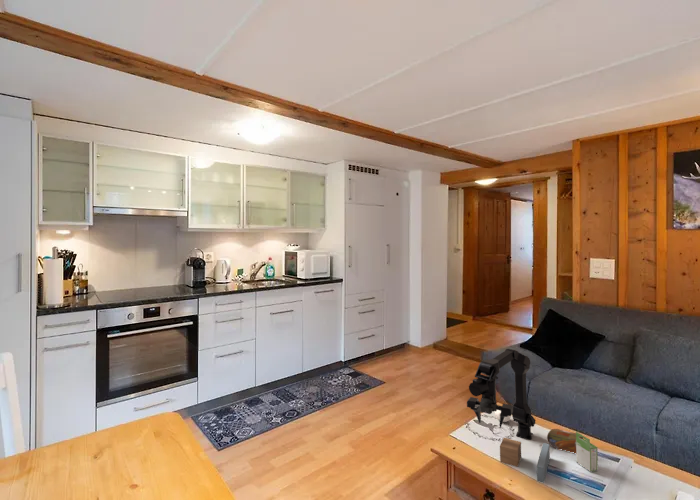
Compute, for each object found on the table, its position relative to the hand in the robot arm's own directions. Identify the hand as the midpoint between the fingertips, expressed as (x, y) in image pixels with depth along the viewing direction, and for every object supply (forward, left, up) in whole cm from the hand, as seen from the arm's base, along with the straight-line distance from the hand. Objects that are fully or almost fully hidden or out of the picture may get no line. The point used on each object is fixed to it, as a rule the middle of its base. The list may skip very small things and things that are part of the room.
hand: (490, 425), depth 162 cm
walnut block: (0, +8, -13) cm, 16 cm away
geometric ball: (-35, -2, -13) cm, 38 cm away
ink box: (-11, +36, -13) cm, 40 cm away
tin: (-21, +28, -13) cm, 37 cm away
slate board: (0, +21, -13) cm, 25 cm away
